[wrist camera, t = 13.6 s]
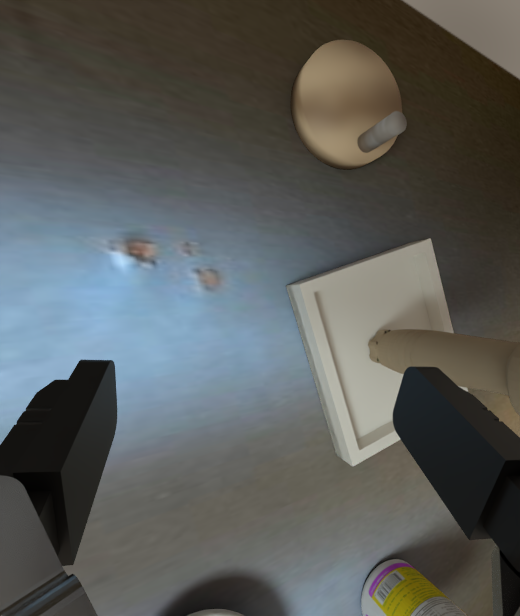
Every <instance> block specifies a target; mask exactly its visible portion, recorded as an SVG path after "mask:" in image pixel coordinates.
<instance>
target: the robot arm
mask: <svg viewBox="0 0 520 616" xmlns="http://www.w3.org/2000/svg"><path fill="white" fill-rule="evenodd" d="M116 424H117V398H116V379H115V365H114V362H113V361H112V360H80V361H79V363H78V364H77V366H76V368H75V369H74V371H73V373H72V374H71V376H70V378H69V379H68V380H54V381H53V382H51V383H50V384H49V385H47V386H46V387H44V388H43V389H41V390H40V391H39V392H37V393H36V395H35V396H34V398H33V399H32V400H31V402H30V403H29V405H28V406H27V408H26V411H24V412H23V413H22V415H21V416H20V418H19V419H18V421H17V424H16V425H14V426H13V428H12V429H11V431H10V432H9V434H8V435H7V436H6V438H5V439H4V441H3V442H2V444H1V445H0V616H97V614H96V612H95V610H94V608H93V606H92V604H91V602H90V600H89V598H88V596H87V594H86V592H85V590H84V588H83V587H82V585H81V583H80V581H79V580H78V579H77V577H76V576H75V575H73V574H71V575H70V576H68V575H67V574H66V572H65V571H64V569H63V567H62V566H65V565H73V564H74V561H75V558H76V554H77V551H78V548H79V545H80V542H81V539H82V536H83V532H84V529H85V526H86V523H87V520H88V517H89V514H90V511H91V507H92V504H93V501H94V498H95V495H96V492H97V489H98V485H99V482H100V479H101V476H102V473H103V470H104V467H105V463H106V460H107V457H108V454H109V451H110V448H111V445H112V441H113V438H114V435H115V430H116ZM393 425H394V428H395V431H396V433H397V434H398V436H399V437H400V439H401V440H402V442H403V443H404V445H405V446H406V448H407V449H408V451H409V452H410V454H411V455H412V457H413V458H414V459H415V461H416V462H417V464H418V465H419V467H420V468H421V470H422V471H423V473H424V474H425V476H426V477H427V479H428V480H429V482H430V483H431V484H432V486H433V487H434V489H435V490H436V492H437V493H438V495H439V496H440V498H441V499H442V501H443V502H444V504H445V505H446V507H447V508H448V510H449V511H450V512H451V514H452V515H453V517H454V518H455V520H456V521H457V523H458V524H459V526H460V527H461V529H462V530H463V532H464V533H465V535H466V536H467V538H468V539H469V540H475V539H490V538H492V539H493V541H494V542H495V543H496V546H495V548H494V550H493V552H492V557H491V561H492V592H493V616H520V438H519V437H518V436H517V435H516V434H515V433H514V432H513V431H512V430H511V429H510V428H509V427H507V426H506V425H505V424H504V423H503V422H499V418H498V417H496V416H495V415H494V414H493V413H492V412H491V411H488V410H487V407H485V406H484V405H483V404H482V403H481V402H480V401H479V400H478V399H477V398H476V397H474V396H473V395H472V394H470V393H468V392H467V391H465V390H463V389H462V388H460V387H458V386H457V385H456V384H455V383H454V382H453V381H452V380H451V379H450V378H449V377H448V376H447V375H445V374H444V373H443V372H442V371H441V370H440V369H439V368H437V367H418V366H411V367H408V368H407V369H406V370H405V372H404V375H403V378H402V382H401V385H400V388H399V392H398V395H397V399H396V402H395V406H394V409H393Z"/></svg>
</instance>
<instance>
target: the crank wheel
mask: <svg viewBox="0 0 520 616" xmlns="http://www.w3.org/2000/svg"><path fill="white" fill-rule="evenodd" d="M291 114H292V119H293V123H294V126H295V128H296V131H297V133H298V135H299V137H300V139H301V140H302V142H303V144H304V145H305V146H306V148H307V149H308V150H309V151H310V152H311V153H312V154H313V155H314V156H315V157H316V158H317V159H318V160H320V161H321V162H323V163H325V164H327V165H329V166H331V167H334V168H337V169H343V170H351V169H357V168H360V167H362V166H364V165H366V164H368V163H370V162H371V161H373V160H375V159H377V158H379V157H380V156H382V155H383V154H385V153H386V152H387V151H388V150H389V149H390V148H391V146H392V145H393V143H394V142H395V140H396V138H397V136H398V134H400V133H402V132H403V131H404V130H405V129H406V125H407V122H406V118H405V116H404V115H403V114H402V103H401V97H400V93H399V89H398V86H397V83H396V81H395V79H394V77H393V75H392V73H391V71H390V70H389V68H388V67H387V65H386V64H385V63H384V61H383V60H382V59H381V58H380V57H379V56H378V55H377V54H376V53H375V52H373V51H372V50H371V49H369V48H368V47H366V46H364V45H362V44H360V43H357V42H354V41H350V40H336V41H331V42H329V43H326V44H324V45H323V46H321V47H320V48H319V49H317V50H316V51H315V52H314V53H313V55H312V56H311V57H310V58H309V60H308V61H307V62H306V64H305V65H304V66H303V67H302V69H301V70H300V71H299V73H298V75H297V76H296V79H295V81H294V83H293V87H292V91H291Z"/></svg>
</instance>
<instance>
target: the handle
mask: <svg viewBox="0 0 520 616" xmlns="http://www.w3.org/2000/svg"><path fill="white" fill-rule="evenodd" d="M368 347H369V350H370V355H369V357H370V359H371V360H372V361H373V362H376V363H380V364H381V365H383V366H385V367H387V368H389V369H391V370H393V371H396V372H398V373H401V374H404V372H405V370H406V369H407V368H408V367H411V366H418V367H437V368H439V369H440V370H441V371H442V372H443V373H444V374H445V375H447V376H448V377H449V378H450V379H451V380H452V381H453V382H454V383H455V384H456V385H457V386H460V387H466V388H472V389H477V390H483V391H488V392H494V393H500V394H505V395H509V398H510V401H511V404H512V406H513V408H514V409H515V411H516V412H517V414H518V415H520V342H510V341H503V340H496V339H489V338H482V337H475V336H468V335H462V334H455V333H449V332H442V331H434V330H420V329H401V330H393V331H391V330H380V331H378V332H377V333H376V335H375V337H374V338H373V339H372V340H371V341H369V343H368Z"/></svg>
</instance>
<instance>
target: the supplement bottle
mask: <svg viewBox="0 0 520 616" xmlns="http://www.w3.org/2000/svg"><path fill="white" fill-rule="evenodd" d="M361 608H362V613H363V616H468V615H467V614H465V613H464V612H463V611H462V610H461V609H460V608H459V607H458V606H456V605H455V604H454V603H453V602H452V601H451V600H450V599H449V598H448V597H446V596H445V595H444V594H443V593H442V592H441V591H440V590H439V589H437V588H436V587H435V586H434V585H433V584H432V583H431V582H430V581H428V580H427V579H426V578H425V577H424V576H423V575H422V574H421V573H419V572H418V571H417V570H416V569H415V568H414V567H412V566H411V565H410V564H409V563H407V562H406V561H403V560H400V559H392V560H388V561H385V562H383V563H381V564H380V565H379V566H377V567H376V568H375V569H374V570H373V571H372V573H371V574H370V575H369V577H368V578H367V580H366V583H365V585H364V588H363V592H362V597H361Z"/></svg>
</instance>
